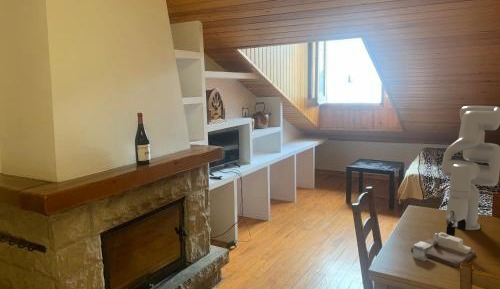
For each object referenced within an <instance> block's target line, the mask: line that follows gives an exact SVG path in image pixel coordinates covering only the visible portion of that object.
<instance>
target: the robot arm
mask: <svg viewBox="0 0 500 289" xmlns="http://www.w3.org/2000/svg"><path fill="white" fill-rule="evenodd" d="M459 118H460V121H461V122H460V128H459V133H458V139H457V140H455V141H454V142H452V143H451V144H450V145H449V146H448V147H447V148H446V150H445V151H444V154H443V157H442V161H441V173H442V175H443V176H445V177H449V179H450V180H449V192H448V199H447V200H448V201H447V204H446V210H445V219H446V231H445V233H446V234H447V235H450V236H454V237H456V228H457V230H459V231H463V232H466V231H477V230H480V228H481V224H479V223H478V219H479V215H478V214H479V205H480V204H479V203H480V202H479V201H480V195H481V194H480V191H479V188H477V186H476V185H479V186H486V187H495V186H497V185H498V183H499V178H500V145H499V144H497V143H491V142H485V136H486V132H485V131H496V130H498V128H499V127H500V107H499V106H496V105H495V106H491V105H465V106H463V107H461V108H460V109H459ZM459 152H462V158H463V159H464V160H459V159H452V157H454V155H455V154H457V153H459ZM478 163H485V164H488V165H484V164H483V165H482V164H478Z"/></svg>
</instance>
